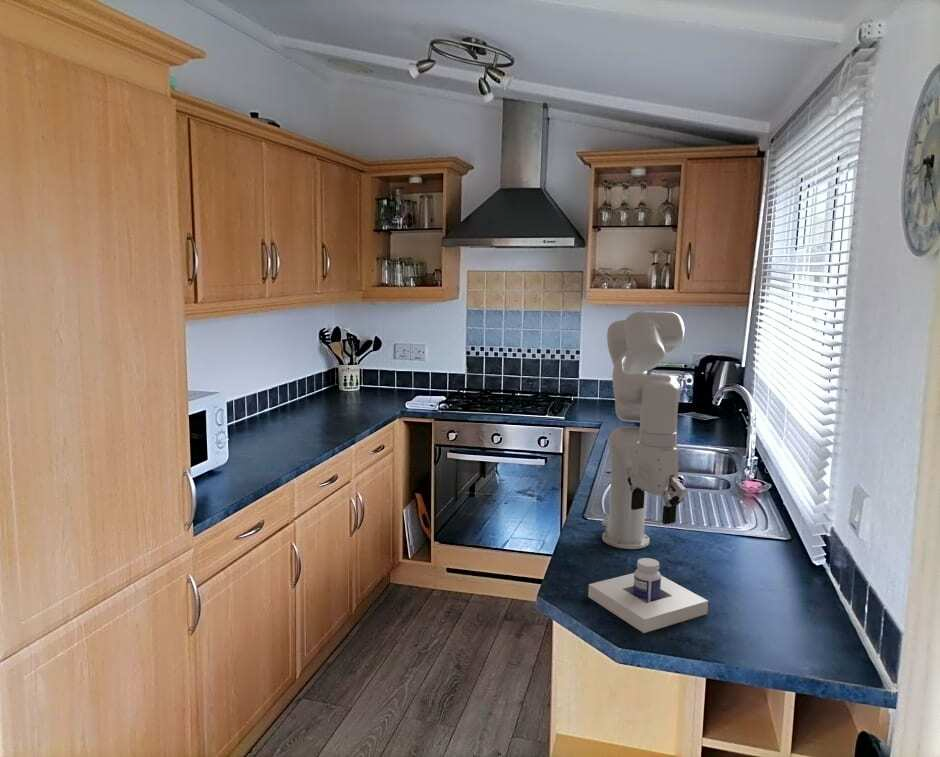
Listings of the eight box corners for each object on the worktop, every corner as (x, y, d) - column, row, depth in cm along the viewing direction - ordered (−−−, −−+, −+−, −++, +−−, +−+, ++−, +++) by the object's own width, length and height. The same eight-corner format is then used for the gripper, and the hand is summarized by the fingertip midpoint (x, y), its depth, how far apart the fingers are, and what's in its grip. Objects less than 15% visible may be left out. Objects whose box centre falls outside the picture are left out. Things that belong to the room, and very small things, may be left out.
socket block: (588, 596, 159) (588, 584, 159) (648, 581, 168) (649, 569, 167) (643, 633, 144) (644, 619, 143) (707, 613, 152) (708, 600, 152)
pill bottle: (655, 598, 159) (657, 556, 157) (662, 610, 153) (665, 567, 152) (629, 598, 159) (632, 556, 157) (636, 610, 153) (638, 567, 152)
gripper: (616, 431, 156) (613, 506, 159) (673, 450, 141) (668, 532, 144) (642, 428, 160) (638, 501, 162) (701, 446, 145) (695, 526, 147)
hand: (652, 515), depth 153 cm, fingers open, 9 cm apart
